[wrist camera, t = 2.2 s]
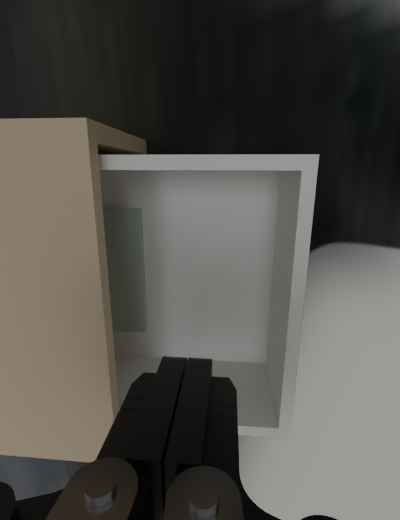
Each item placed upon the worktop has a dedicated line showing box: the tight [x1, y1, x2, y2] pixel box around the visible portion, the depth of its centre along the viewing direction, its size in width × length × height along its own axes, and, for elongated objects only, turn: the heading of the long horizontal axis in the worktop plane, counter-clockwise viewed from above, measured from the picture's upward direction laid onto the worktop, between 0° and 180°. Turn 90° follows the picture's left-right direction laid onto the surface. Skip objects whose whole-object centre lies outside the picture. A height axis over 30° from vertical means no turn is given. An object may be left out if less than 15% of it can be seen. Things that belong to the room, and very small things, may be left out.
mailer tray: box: [98, 154, 319, 439], centre depth 17 cm, size 14×19×6 cm
